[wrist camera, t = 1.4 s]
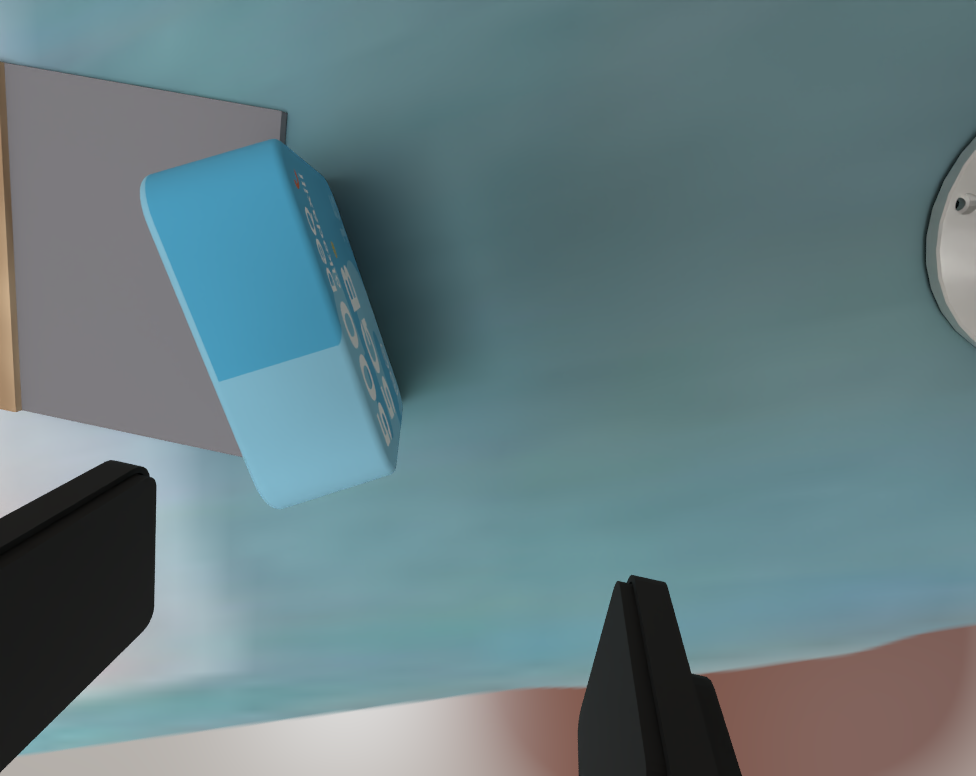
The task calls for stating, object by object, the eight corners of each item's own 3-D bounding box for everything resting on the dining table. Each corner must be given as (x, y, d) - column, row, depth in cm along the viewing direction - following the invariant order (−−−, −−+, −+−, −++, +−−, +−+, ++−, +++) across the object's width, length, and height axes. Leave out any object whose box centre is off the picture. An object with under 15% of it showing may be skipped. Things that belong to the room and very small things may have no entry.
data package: (405, 405, 33) (396, 486, 21) (323, 430, 33) (268, 527, 21) (327, 177, 30) (269, 126, 18) (238, 204, 30) (121, 169, 18)
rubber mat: (287, 112, 29) (281, 111, 29) (262, 456, 35) (257, 460, 34) (14, 65, 30) (4, 62, 30) (30, 406, 35) (21, 410, 35)
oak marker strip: (14, 65, 30) (-3, 60, 29) (30, 406, 35) (16, 412, 35) (-8, 61, 30) (-27, 56, 29) (11, 402, 36) (-5, 408, 35)
